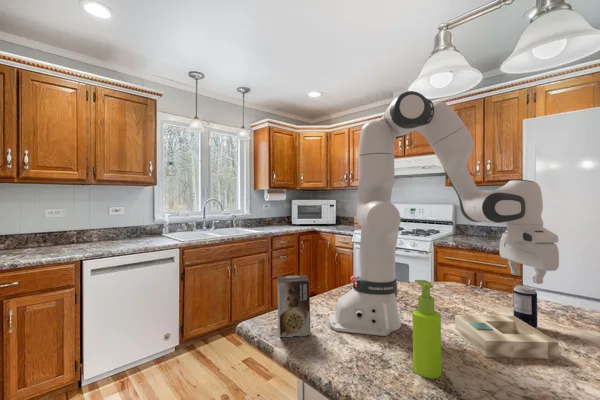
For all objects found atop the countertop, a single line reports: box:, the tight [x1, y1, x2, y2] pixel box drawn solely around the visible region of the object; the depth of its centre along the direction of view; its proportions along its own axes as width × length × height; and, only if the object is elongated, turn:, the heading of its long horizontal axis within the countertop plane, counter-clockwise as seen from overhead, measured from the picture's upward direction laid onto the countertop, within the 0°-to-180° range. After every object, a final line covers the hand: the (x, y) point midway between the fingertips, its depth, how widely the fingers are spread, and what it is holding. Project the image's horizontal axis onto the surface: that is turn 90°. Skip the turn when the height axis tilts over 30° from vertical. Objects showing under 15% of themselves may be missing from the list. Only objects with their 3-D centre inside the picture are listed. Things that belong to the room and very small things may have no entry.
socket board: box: [454, 314, 560, 360], centre depth 78 cm, size 17×16×4 cm
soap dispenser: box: [412, 279, 442, 379], centre depth 66 cm, size 6×7×20 cm
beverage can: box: [512, 284, 538, 329], centre depth 87 cm, size 6×6×12 cm
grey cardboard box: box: [276, 274, 312, 338], centre depth 85 cm, size 9×6×16 cm
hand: (526, 278), depth 87 cm, fingers open, 8 cm apart
